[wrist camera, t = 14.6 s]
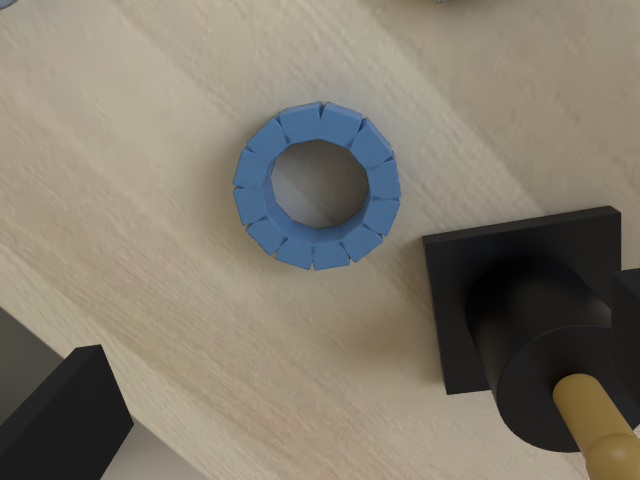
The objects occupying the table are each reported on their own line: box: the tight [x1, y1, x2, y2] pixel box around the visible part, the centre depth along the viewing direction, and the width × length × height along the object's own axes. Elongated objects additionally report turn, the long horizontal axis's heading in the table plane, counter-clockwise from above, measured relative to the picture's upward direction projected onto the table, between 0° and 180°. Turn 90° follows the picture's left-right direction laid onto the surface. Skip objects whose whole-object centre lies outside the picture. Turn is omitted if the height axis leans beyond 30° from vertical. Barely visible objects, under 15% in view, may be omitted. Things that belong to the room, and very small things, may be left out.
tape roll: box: [233, 102, 401, 270], centre depth 32 cm, size 10×10×3 cm
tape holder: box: [423, 206, 640, 480], centre depth 28 cm, size 12×12×16 cm
